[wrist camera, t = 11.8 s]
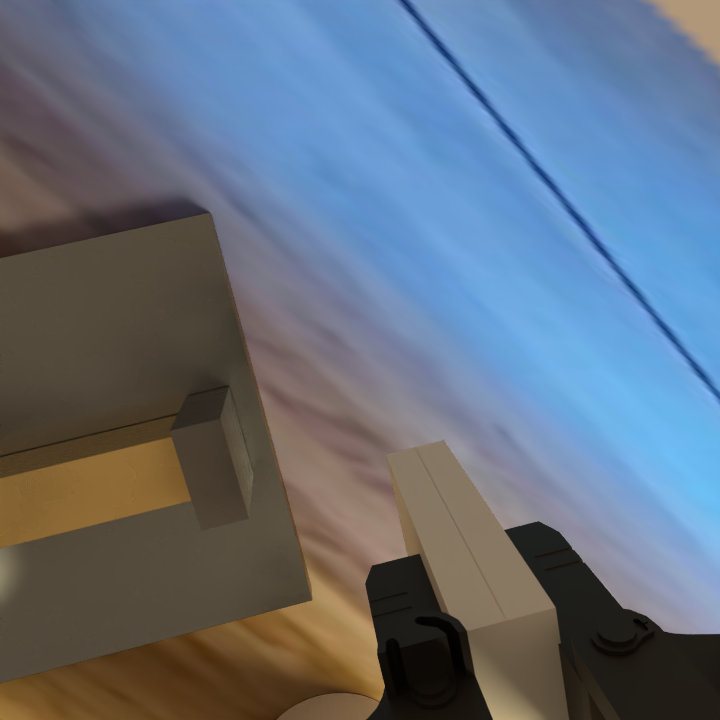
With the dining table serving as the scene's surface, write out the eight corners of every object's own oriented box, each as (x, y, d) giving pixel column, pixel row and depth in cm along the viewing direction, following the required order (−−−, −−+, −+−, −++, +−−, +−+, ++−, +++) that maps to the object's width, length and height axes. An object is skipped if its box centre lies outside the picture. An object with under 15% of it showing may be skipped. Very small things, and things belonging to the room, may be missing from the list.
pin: (-25, 542, 23) (-80, 602, 19) (-63, 455, 22) (-126, 502, 18) (253, 473, 24) (249, 518, 20) (229, 386, 23) (220, 418, 19)
